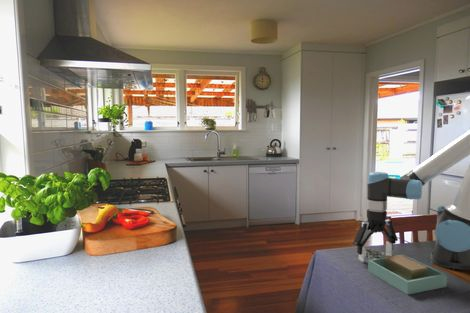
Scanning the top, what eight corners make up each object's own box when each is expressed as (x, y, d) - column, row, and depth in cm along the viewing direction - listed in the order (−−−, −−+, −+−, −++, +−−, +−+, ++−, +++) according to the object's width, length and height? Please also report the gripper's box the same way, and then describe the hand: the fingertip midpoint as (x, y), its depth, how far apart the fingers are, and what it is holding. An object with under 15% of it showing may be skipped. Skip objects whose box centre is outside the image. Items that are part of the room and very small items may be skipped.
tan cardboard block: (399, 269, 121) (400, 254, 120) (427, 284, 109) (427, 267, 109) (384, 272, 119) (384, 256, 118) (410, 287, 107) (411, 270, 107)
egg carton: (391, 266, 127) (391, 256, 126) (372, 266, 127) (373, 256, 126) (379, 255, 137) (380, 246, 137) (362, 255, 137) (362, 246, 137)
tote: (402, 266, 125) (403, 254, 125) (446, 288, 107) (446, 274, 107) (367, 272, 120) (367, 259, 120) (407, 296, 103) (407, 282, 102)
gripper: (394, 205, 137) (392, 252, 139) (345, 209, 130) (343, 259, 132) (408, 209, 130) (406, 259, 132) (357, 214, 123) (355, 267, 125)
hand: (375, 259), depth 132 cm, fingers open, 13 cm apart
